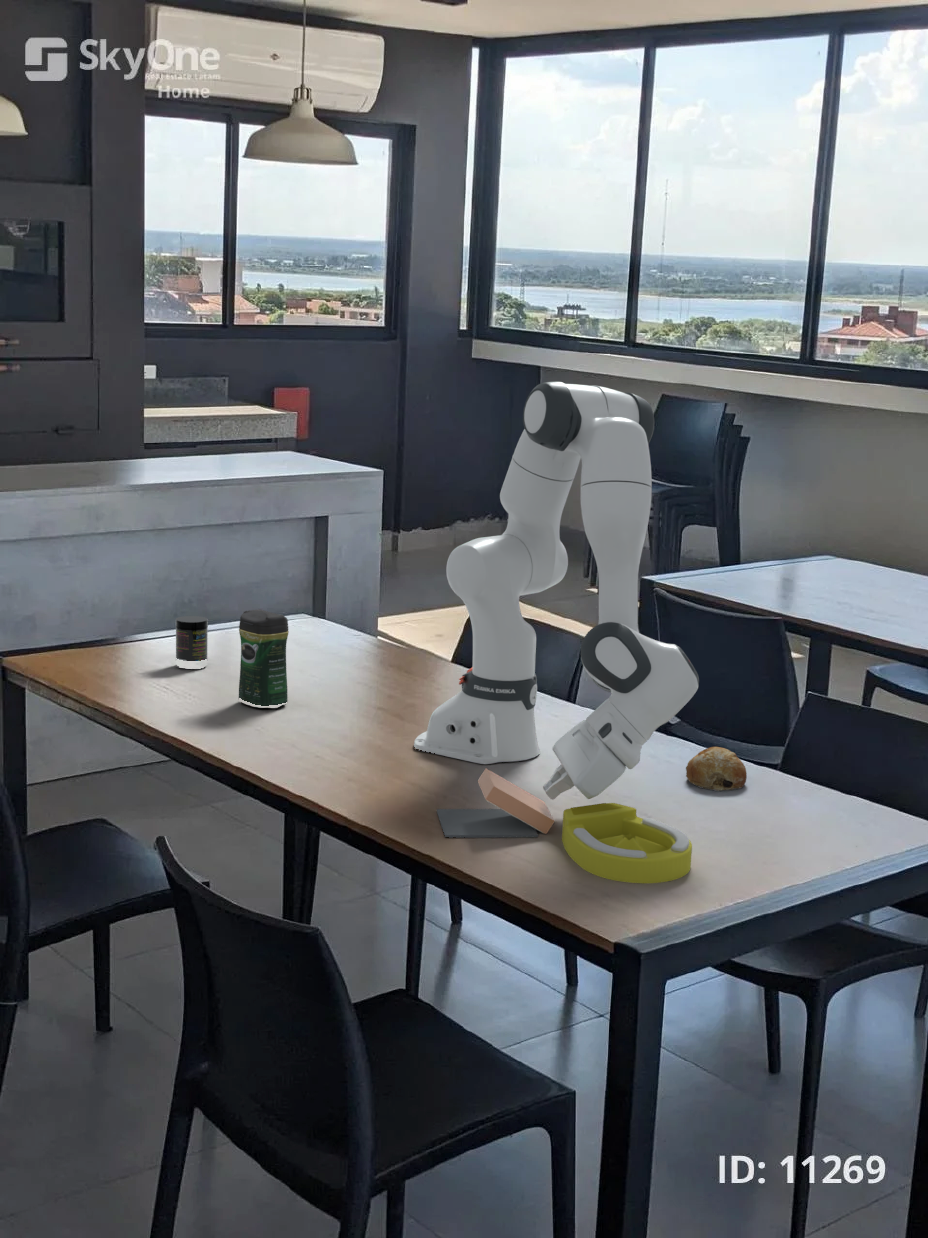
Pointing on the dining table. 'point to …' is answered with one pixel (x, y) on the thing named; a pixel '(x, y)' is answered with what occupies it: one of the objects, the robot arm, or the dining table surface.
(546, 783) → the robot arm
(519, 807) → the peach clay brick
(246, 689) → the coffee jar
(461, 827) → the rubber mat
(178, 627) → the supplement container
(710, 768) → the bread roll
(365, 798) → the dining table surface
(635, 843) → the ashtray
